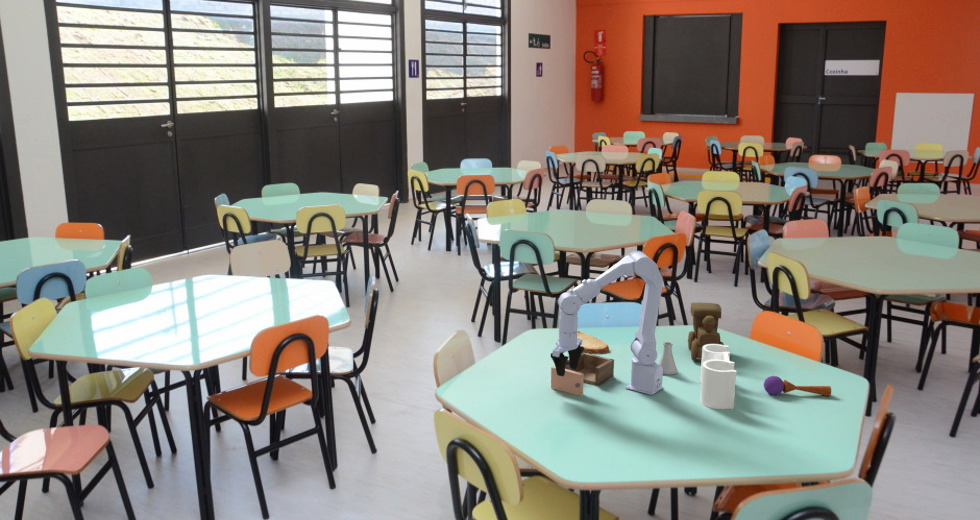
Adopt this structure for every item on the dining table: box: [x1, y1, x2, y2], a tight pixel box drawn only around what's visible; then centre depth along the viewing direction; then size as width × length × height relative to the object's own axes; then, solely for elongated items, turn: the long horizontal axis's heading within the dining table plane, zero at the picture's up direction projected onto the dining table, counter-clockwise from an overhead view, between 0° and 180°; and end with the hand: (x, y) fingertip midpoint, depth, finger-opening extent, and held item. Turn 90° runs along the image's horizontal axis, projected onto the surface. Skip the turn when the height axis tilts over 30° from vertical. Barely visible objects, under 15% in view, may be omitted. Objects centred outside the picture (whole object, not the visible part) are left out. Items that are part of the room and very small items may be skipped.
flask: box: [657, 341, 678, 376], centre depth 274 cm, size 7×7×10 cm
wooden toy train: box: [687, 302, 725, 361], centre depth 289 cm, size 20×11×17 cm, turn 172°
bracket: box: [699, 344, 737, 410], centre depth 256 cm, size 25×10×12 cm, turn 168°
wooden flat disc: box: [577, 330, 611, 355], centre depth 301 cm, size 18×18×4 cm
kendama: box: [763, 375, 832, 397], centre depth 255 cm, size 6×6×20 cm
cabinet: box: [565, 352, 615, 387], centre depth 269 cm, size 13×13×6 cm
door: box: [550, 365, 585, 397], centre depth 258 cm, size 11×2×7 cm, turn 53°
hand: (567, 372), depth 258 cm, fingers open, 7 cm apart
